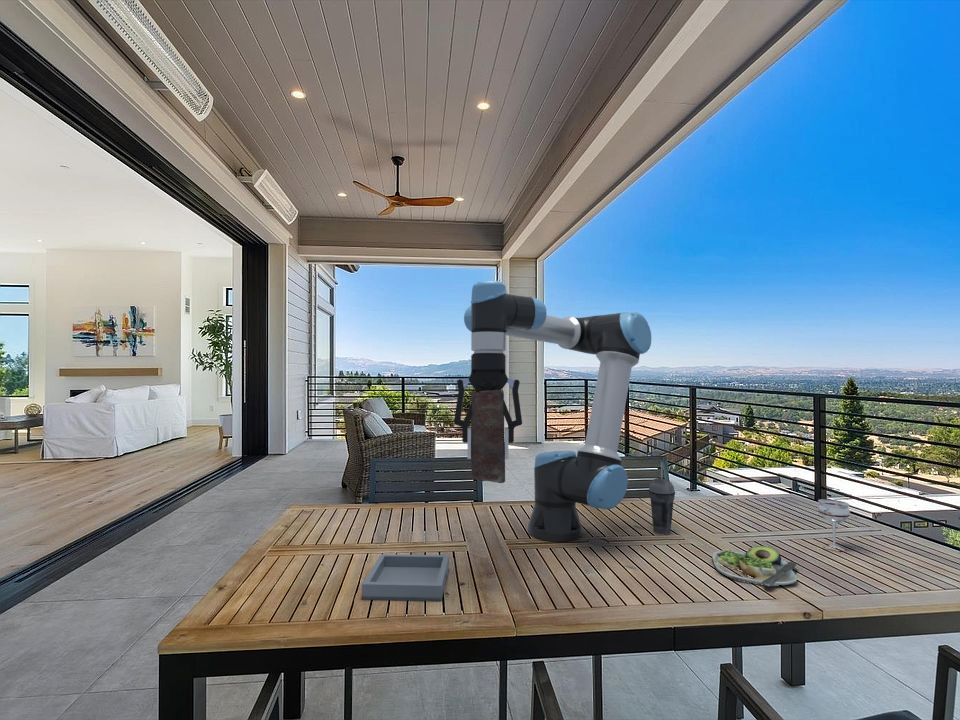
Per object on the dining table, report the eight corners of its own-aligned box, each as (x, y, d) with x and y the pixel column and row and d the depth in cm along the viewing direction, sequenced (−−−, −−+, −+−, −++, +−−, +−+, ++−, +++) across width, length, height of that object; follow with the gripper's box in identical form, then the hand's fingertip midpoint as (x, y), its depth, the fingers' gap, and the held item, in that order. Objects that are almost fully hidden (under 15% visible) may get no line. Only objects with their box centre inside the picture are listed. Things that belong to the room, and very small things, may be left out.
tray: (448, 568, 110) (449, 555, 111) (441, 601, 94) (441, 585, 95) (380, 567, 111) (380, 554, 111) (361, 599, 95) (362, 584, 95)
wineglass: (852, 548, 125) (851, 502, 125) (849, 555, 120) (848, 507, 120) (820, 542, 130) (820, 497, 130) (816, 548, 125) (815, 502, 125)
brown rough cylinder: (479, 487, 98) (480, 390, 98) (464, 480, 104) (465, 389, 105) (511, 483, 101) (512, 389, 102) (494, 476, 108) (495, 388, 109)
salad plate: (813, 601, 96) (813, 578, 96) (715, 585, 103) (715, 563, 104) (793, 566, 114) (792, 546, 114) (710, 554, 121) (710, 536, 121)
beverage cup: (648, 534, 135) (647, 463, 136) (649, 526, 142) (648, 459, 142) (675, 537, 132) (675, 465, 133) (675, 530, 139) (675, 461, 140)
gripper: (533, 353, 107) (533, 455, 107) (444, 353, 108) (443, 454, 107) (536, 352, 100) (536, 461, 99) (440, 351, 100) (439, 460, 100)
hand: (487, 457), depth 103 cm, fingers closed on brown rough cylinder, 7 cm apart
